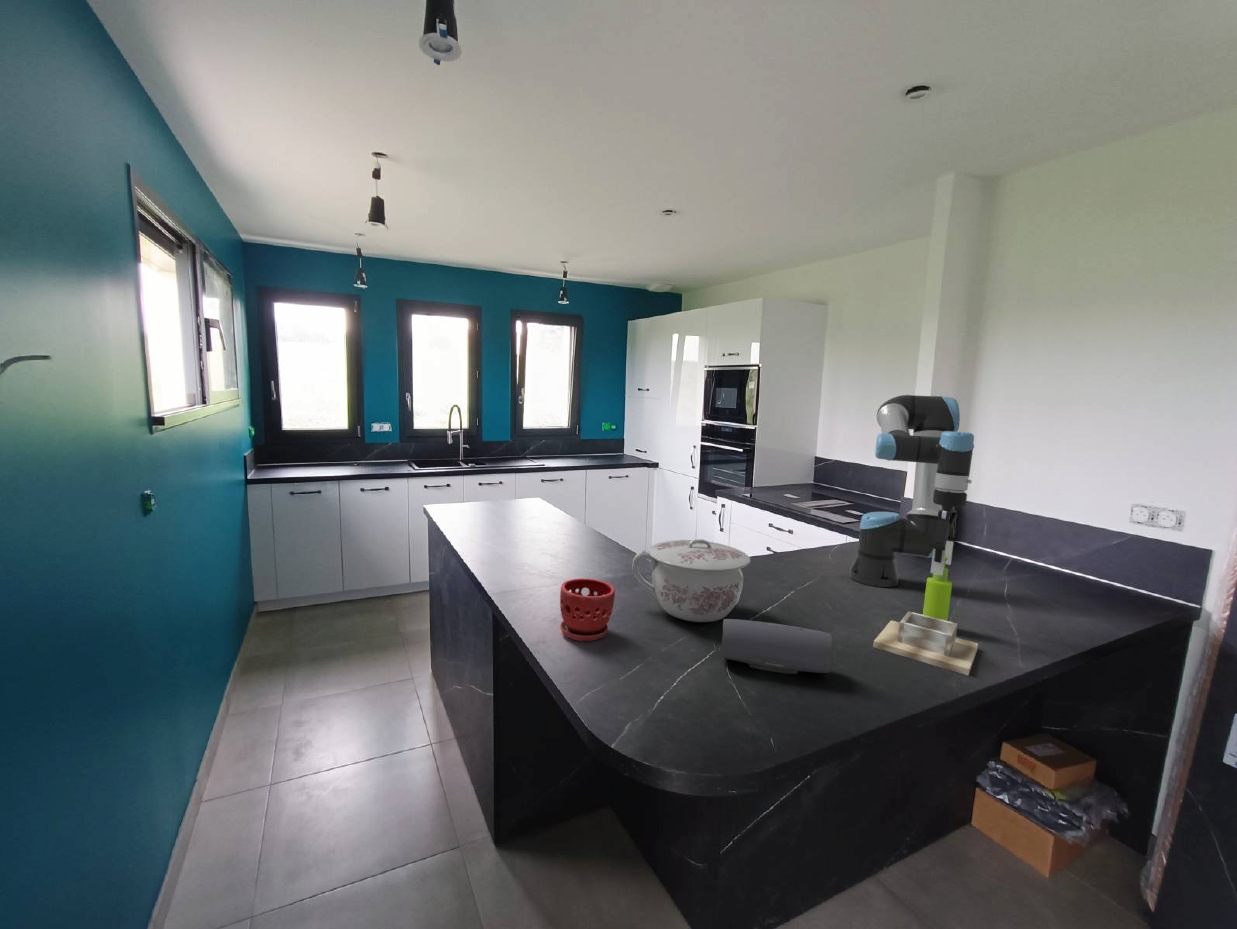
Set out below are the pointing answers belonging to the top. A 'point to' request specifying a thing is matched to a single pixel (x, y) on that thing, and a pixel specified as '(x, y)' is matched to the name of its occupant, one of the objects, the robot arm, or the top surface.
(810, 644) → the bluetooth speaker
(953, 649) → the dispenser caddy
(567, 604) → the plant pot
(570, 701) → the top surface
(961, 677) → the top surface
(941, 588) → the soap dispenser
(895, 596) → the top surface
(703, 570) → the chamber pot
